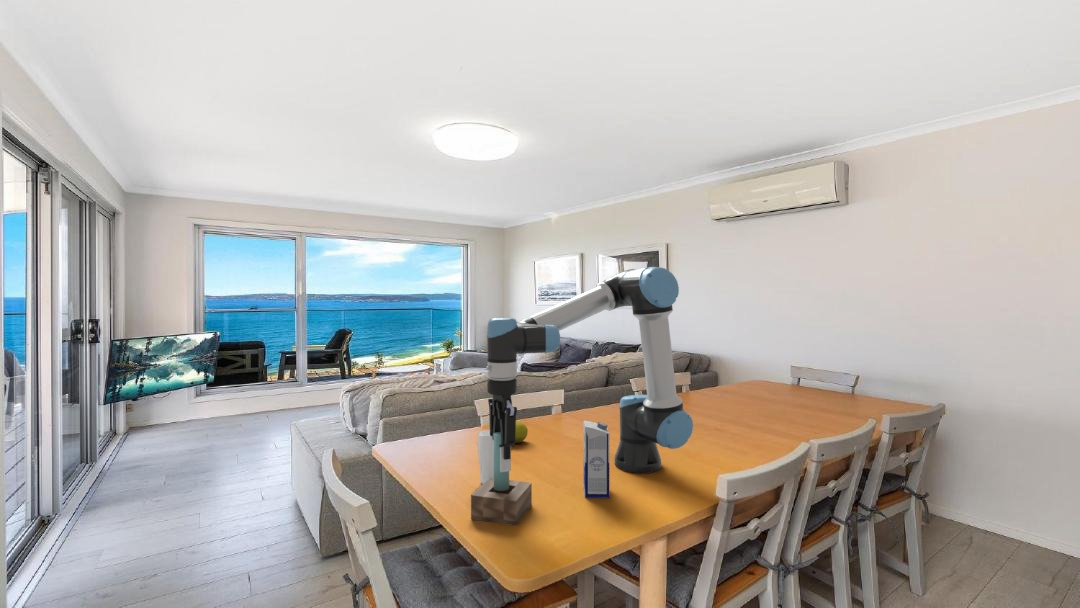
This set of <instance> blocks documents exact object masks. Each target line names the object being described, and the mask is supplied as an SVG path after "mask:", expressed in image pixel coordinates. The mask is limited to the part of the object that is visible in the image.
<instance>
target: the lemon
mask: <svg viewBox="0 0 1080 608" xmlns="http://www.w3.org/2000/svg"><path fill="white" fill-rule="evenodd" d="M528 430H529V429H528V427H527V425H526V424H525V423H524V422H522V421H517V420H516V433H515V444H519V443H522V442H524V440H525V439H526V438H527V436H528Z"/></svg>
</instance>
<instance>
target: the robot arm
mask: <svg viewBox="0 0 1080 608" xmlns="http://www.w3.org/2000/svg"><path fill="white" fill-rule="evenodd" d="M679 292H680V287H679V284H678V280H677V278H676V276H675V275H674V274H673V273H672V272H671V271H670V270H668V269H667V268H664V267H660V266H648V267H641V268H629V269H626V270H623V271H621V272H619V273H616V274H614V275H613V276H612V275H611V276H610V277H609V278H606V279H603V281H600V282H598V283H597V284H596V286H595V287H594V288H592V289H590V290H587V291H585V292H583V293H580V294H578V295H576V296H573V297H571V298H570V299H567V300H565V301H562V302H560V303H558V304H556V305H553V306H551V307H548V308H546V309H544V310H543V311H540V312H538V313H535V314H533V315H531V316H529V317H527V318H524V319H522V320H519V321H517V319H516V318H514V317H494V318H493V317H492V318H490V319H489V320H488V322H487V328H486V329H487V331H486V333H487V334H486V340H487V341H486V343H487V344H486V345H487V348H486V349H487V366H485V369H486V371H487V377H488V379H487V385H486V386H487V393H488V394H489V395H492V398H488V399H487V401H488V407H489V418H488V419H489V430H490V436H492V439H493V440H494V433H496V432H501V443H502V444H501V445H499V447H500V472H506V471H509V472H511V471H512V448H511V447H512V446H515V445H516V443H515V433H516V421H517V412H518V408H517V406H513V401H512V395H514V394H516V393H517V390H518V389H517V385H518V384H517V379H516V377H517V375H518V371H517V370H518V366H517V365H518V363H517V361H518V359H517V355H523V354H548V353H554V352H557V350H558V349H559V347H560V345H561V334H560V331H562V330H565V329H567V328H569V327H571V326H573V325H575V324H577V323H580V322H581V321H584V320H586V319H588V318H591V317H593V316H594V315H597V314H599V313H601V312H603V311H605V310H606V311H613V310H616V309H618V308H624V307H631V309H632V315H633V316H634V317H635V318H636V319H638V323H639V331H640V333H639V334H640V341H641V349H642V351H641V352H642V360H643V367H644V377H645V386H646V394H631V395H625V396H623V397H621V399H620V400H619V443H618V445H617V449H616V452H615V454H614V466H616V468H618V469H619V470H622V471H625V472H628V473H629V472H630V473H635V474H651V473H655V472H657V471H659V470H661V469H662V458H661V456H660V451H659V449H658V446H657V445H659V446H660V447H662V448H668V449H671V450H677V449H680V448H682V447H683V446H685V444H687V442H688V441H689V439H690V438H691V437H692V435H693V431H694V421H693V418H692V416H691V415H690V414H689V413H688V412H687V411H684V404H683V401H684V400H683V399H682V398H681V397H680V396H679V395H677V387H676V378H675V370H674V359H673V349H672V341H671V333H670V332H671V331H670V323H669V316H670V315H671V313H673V311H674V309H673V304H675V302H676V301H677V298H678V296H679V294H680V293H679ZM493 459H494V441H493Z"/></svg>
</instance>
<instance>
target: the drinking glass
mask: <svg viewBox="0 0 1080 608" xmlns="http://www.w3.org/2000/svg"><path fill="white" fill-rule="evenodd" d="M493 441H494V440H493V439H492V436H490V429H483V430H480V431H479V432H478V434H477V451H478V463H479V464H478V465H479V474H480V476H479V477H480V478H479V479H480V483H481V485H483V484H484V483H485V482H486V481H487V480H488V479H489V478H494V459H493Z"/></svg>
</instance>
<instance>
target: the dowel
mask: <svg viewBox="0 0 1080 608" xmlns="http://www.w3.org/2000/svg"><path fill="white" fill-rule="evenodd" d="M501 444H502V443H501V432H496V433H494V489H495V490H497V491H505V490H508V489H509V480H510V471H506V472H500V447H499V445H501Z"/></svg>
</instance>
